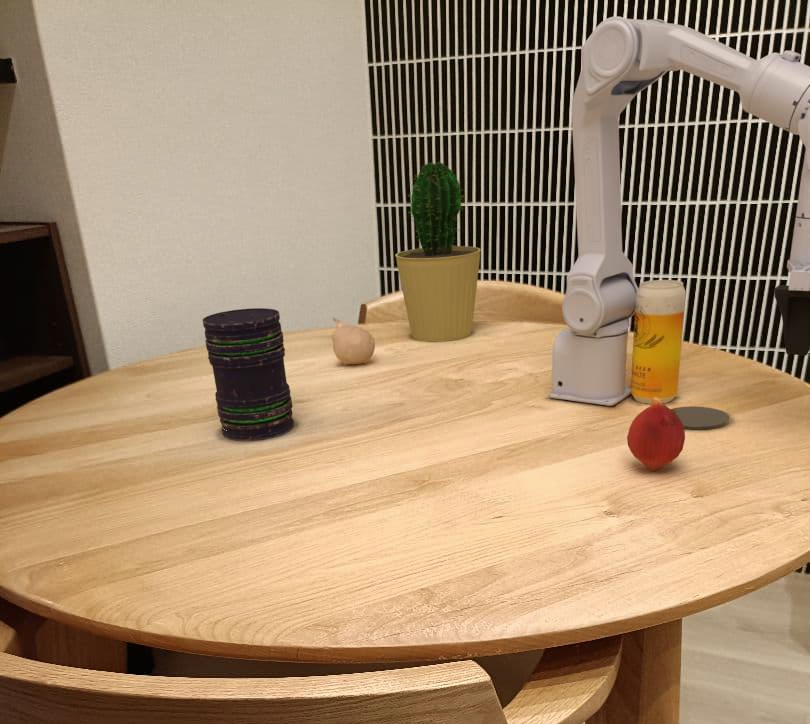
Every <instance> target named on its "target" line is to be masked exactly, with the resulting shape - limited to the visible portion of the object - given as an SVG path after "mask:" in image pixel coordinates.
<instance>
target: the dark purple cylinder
mask: <svg viewBox="0 0 810 724" xmlns="http://www.w3.org/2000/svg"><path fill="white" fill-rule="evenodd" d="M280 319H281V316H280V311H279V310H277V309H275V308H265V307H264V308H260V307H259V308H258V307H257V308H255V307H254V308H241V309H239V308H238V309H232V310H225V311H221V312H217V313H213V314H209V315H208V316H205V317H204V318H202V325H203V328H204V337H205V341H204V342H205V348H206V351H207V355H208V357H207V359H208V362H209V364H210V365H211V366H212V373H213V378H214V383H215V390H216V392H215V395H214V396H215V403H216V405H217V406H216V410H217V416H218V417H219V422H220V424H221V434H222V436H223V437H224V438H226V439H227V440H231V441H237V442H238V441H240V442H253V441H263V440H269V439H272V438H276V437H279V436H282V435H284V434H288V433H289V432H290V431H292V430H293V428H295V421H294V419H293V400H292V399H293V398H292V397H291V389H290V385H289V384H288V382H287V374H286V368H285V359H284V357H285V356H286V353H285V351H286V348H285V344H284V342H285V341H284V340H285V339H284V333H283V331H282V323H281V322H280ZM223 428H224V429H225V430H224V429H223ZM226 430H227V431H226Z"/></svg>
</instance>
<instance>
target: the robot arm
mask: <svg viewBox="0 0 810 724" xmlns="http://www.w3.org/2000/svg"><path fill="white" fill-rule="evenodd" d="M580 51H581V52H580V53H581V54H580V55H581V57H580V58H581V70H580V73H579V76H578V80H577V83H576V87H575V91H574V93H573V97H572V101H571V102H572V103H571V123H572V125H571V126H572V145H573V147H572V149H573V164H574V165H573V166H574V169H573V171H574V185H575V186H574V189H575V209H576V229H577V248H578V249H577V251H578V256H577V259H576V261H575V263H574V264H573V265H572V267H571V268H570V270H569V271H568V273H567V276H566V289H565V294H564V297H563V299H562V303H561V304H562V305H561V313H562V317H563V320H564V322H565V324H566V325H567V327H568V328H562V329H561V330H560V331H558V333H557V335H556V337H555V339H554V342H553V347H552V353H551V354H552V359H551V360H552V361H551V363H552V364H551V392H550V393H549V394H548V395H549V398H551V399H556V400H565V401H566V400H567V401H572V402H578V403H579V402H580V403H587V404H593V405H600V406H601V405H602V406H608V407H613V406H615V405H616V404H618V403H620V402H621V401H623V400H624V399H625V398H628V397H629V396H630V395H632V394H631V386H627V385H626V378H627V377H626V375H627V374H626V373H627V356H628V338H629V337H628V336H629V327H630V319H631V318H632V317H633V316H635V302H636V292H637V290H638V288H639V286H638V285H637V282H636V280H635V278H634V267H633V263H632V262H631V261H630V259H629V258H628V257H627V256H626V255H625V253H624V252H623V232H622V231H623V229H622V227H623V226H622V204H621V203H622V196H621V195H622V194H621V192H622V191H621V164H620V163H621V162H620V161H621V159H620V157H621V155H620V127H619V126H620V125H619V119H620V118H619V117H620V115H621V113H622V112H623V111H624V110H625V109H626V108H627V107H628V105H629V104H630V103H631V102H632V101H633V99H634V98H635V97H636V95H638V94H639V93H640V92H642V91H643V90H645V89H647V88H648V87H650V86H651V85H653V84H654V83H655V82H657V81H658V80H659V79H661V78H662V77H663V76H664V75H666V73H667V72H677V71H683V72H686V73H689V74H690V75H694V76H696V77H698V78H701V79H703V80H706V81H708V82H711V83H714V84H715V85H719V86H721V87H723V88H726V89H728V90H731V91H734V92H736V93H737V94H738V95H739V99H740V103H741V107H742V109H743V111H744V112H745V113H748V114H749V115H752V116H754V117H756V118H758V119H761V120H763V121H765V122H767V123H769V124H771V125H773V126H776V127H778V128H779V129H782V130H784V131H787V132H788V133H791V134H793V135H795V136H797V135H798V136H799V138H800V141H801V143H802V144H803V146H804V147H805V151H804V159H803V165H802V170H801V176H800V184H799V190H798V197H797V206H796V213H795V220H794V227H793V232H792V233H793V234H792V240H791V247H790V248H791V249H790V256H789V259H788V260H787V263H786V269H787V270H788V272H789V273H790V276H789V283H788V284H787V285H785V284H779V285H777V286H776V287H774V289H773V290H774V291H773V295H774V299H775V301H776V303H777V306H778V308H779V311H780V315H781V320H782V325H783V326H782V327H783V340H784V348H785V354H786V355H792V356H802V357H803V356H804V357H805V356H807V355H808V354H809V352H810V66H809V65H807V64H805V63H802V62H800V59H801V57H802V54H800V53H799V52H795V51H793V50H785V51H784V52H783V53H782V54H781V53H779V52H772V53H769V54H767V55H765V56H764V57H762V58H760V59H754V58H753V57H750V56H749V55H747V54H745V53H742V52H740V51H739V50H737V49H734V48H732V47H730V46H728V45H727V44H724V43H723V42H720V41H718V40H716V39H714V38H712V37H710V36H708V35H706V34H704V33H702V32H700V31H698V30H696V29H693V28H691V27H688V26H686V25H682V24H676V23H669V22H667V21H665V20H663V19H659V18H651V19H638V18H637V19H634V18H626V17H622V16H617V15H616V16H611V17H608V18H605V19H604V20H603V21H601V22H600V23H599V24H598V25H597V26H596V27H595V29H594V30H593V31H592V32H591V34H590V35H589V37H588V38H587V39H586V41H585V42H584V43H583V45H582V46H581V49H580Z"/></svg>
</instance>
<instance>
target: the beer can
mask: <svg viewBox="0 0 810 724" xmlns="http://www.w3.org/2000/svg"><path fill="white" fill-rule="evenodd" d="M686 295H687V291H686V289H685V286H684V282H683V281H680V280H676V279H675V280H674V279H654V280H646V281H642V282H640V283H639V286H638V290H637V292H636V302H635V314H634V320H633V321H634V323H633V341H632V360H631V377H630V387H631V394H630V395H632V397H633V399H634V400H635V401H636V402H637V403H642V404H646V405H647V404H649V405H651V404H652V399H653V398H655V397H656V398H659V399H660V400H661V402H662V403H663V404H667V403H670V402H672V401H673V400H674V398H675V397H676V396H677V395H678V393H679V381H680V368H681V357H682V346H683V344H682V343H683V334H684V333H683V332H684V322H685V309H686V308H685V307H686V297H687V296H686Z"/></svg>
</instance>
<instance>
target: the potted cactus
mask: <svg viewBox="0 0 810 724" xmlns="http://www.w3.org/2000/svg"><path fill="white" fill-rule="evenodd" d="M425 160H426V159H424V162H423V165H422V164H421V169H420V168H419V170H420V171H419V172H418V174H414V177H415V178H414V177H411V179H413V180H415V182H414V183H413V184H411V187H412V191H411V192H412V193H408V192H407V195H406V196H408V197H410V201H411V202H408V201H407V204H408V206H409V207H410V211H407V212H406V213H407V214H408V216H407V217H411V218H412V220H411V222H415V225H413V228H415V227H416V230H415V231H414V232H413V233H417V239H415V242H416V241H418V242H419V244H418V245H416V247H417V246H418V247H417V248H413V249H407V250H404V251H399V252H397V253H395V255H394V256H395V258H396V259H395V260H396V265H397V271H398V275H399V280H400V285H401V291H402V296H403V300H404V306H405V309H406V314H407V319H408V325H409V330H410V334H411V337H412V338H413V339H414V340H417V341H423V342H448V341H455V340H461V339H464V338H467V337H469V336H471V334H472V332H473V326H474V325H473V324H474V316H475V315H474V313H475V306H476V298H477V297H476V296H477V288H478V279H479V270H480V269H479V268H480V262H481V261H480V260H481V251H482V249H481V248H480V247H476V246H469V245H467V246H466V245H454V240H455V235H456V231H461V229H458V228H456V222H459V220H458V219H459V218H457V216H458V215H459V213H460V211H463V210H465V209H466V208H465V207H464V206H462V203H463V202H464V201H465V199H466V196H464V195H461V191H463V189H461V185H460V184H462V182H461V179H460V180H458V178H457V177H456V174H455V173H454V171H455V170H456V169H454V168H453V169H454V170H453V169H451V168H449V167H450V165H451V162H449V163H448V165H446V164H445V163H443V162H440V161H437V162H435V163H434V162H433V160H432V161H431V162H427V163H426V161H425ZM464 198H465V199H464ZM411 218H410V219H411ZM410 219H409V220H410Z"/></svg>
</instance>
